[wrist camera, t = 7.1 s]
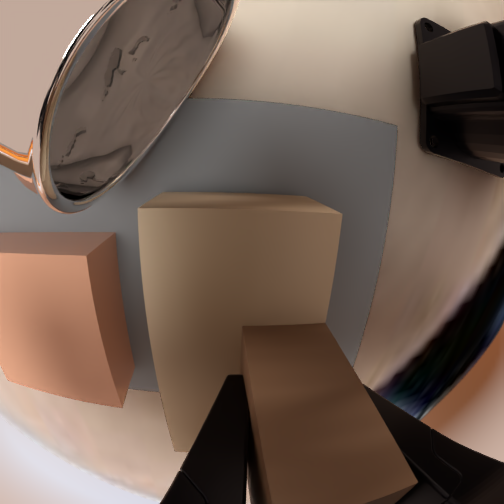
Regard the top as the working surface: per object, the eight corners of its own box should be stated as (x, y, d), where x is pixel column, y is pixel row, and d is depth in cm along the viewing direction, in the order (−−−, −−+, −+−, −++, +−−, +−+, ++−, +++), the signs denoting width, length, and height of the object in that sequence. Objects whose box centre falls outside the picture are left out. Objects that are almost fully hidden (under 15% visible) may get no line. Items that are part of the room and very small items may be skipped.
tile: (115, 232, 9) (86, 255, 7) (134, 366, 11) (122, 407, 9) (-1, 232, 8) (-37, 251, 6) (30, 349, 10) (7, 380, 8)
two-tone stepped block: (305, 196, 9) (525, 324, 2) (279, 397, 12) (322, 553, 4) (163, 192, 9) (-27, 343, 1) (179, 398, 11) (170, 563, 4)
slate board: (393, 126, 9) (450, 122, 6) (344, 380, 13) (369, 427, 10) (-74, 157, 6) (-111, 165, 3) (-39, 343, 10) (-63, 370, 7)
